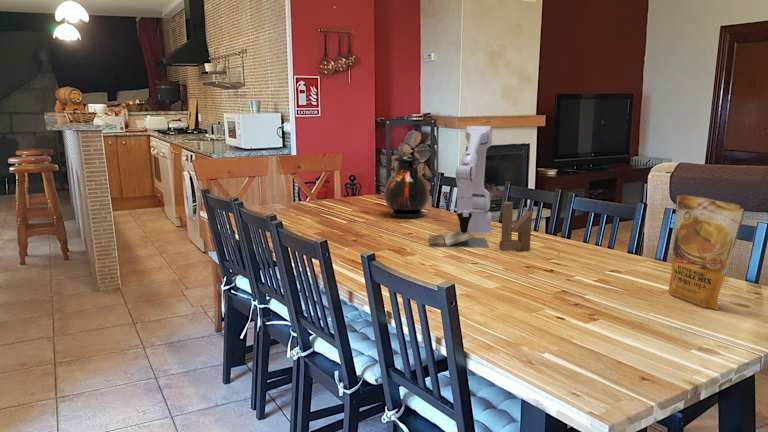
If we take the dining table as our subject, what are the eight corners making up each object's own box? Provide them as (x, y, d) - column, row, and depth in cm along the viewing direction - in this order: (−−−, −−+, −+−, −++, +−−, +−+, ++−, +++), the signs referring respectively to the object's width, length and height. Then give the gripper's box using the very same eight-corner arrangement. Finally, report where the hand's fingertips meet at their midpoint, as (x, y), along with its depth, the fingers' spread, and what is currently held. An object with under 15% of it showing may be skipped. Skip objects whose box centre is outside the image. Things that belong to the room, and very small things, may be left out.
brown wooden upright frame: (530, 250, 211) (532, 202, 207) (503, 252, 208) (505, 203, 205) (525, 248, 214) (527, 200, 211) (498, 250, 212) (500, 201, 208)
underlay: (484, 239, 229) (484, 237, 228) (489, 249, 213) (489, 247, 213) (429, 238, 230) (429, 237, 230) (429, 248, 214) (429, 246, 214)
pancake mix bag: (676, 288, 167) (685, 193, 162) (734, 310, 149) (747, 203, 144) (657, 291, 165) (666, 194, 159) (715, 313, 147) (727, 205, 142)
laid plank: (444, 237, 228) (444, 235, 228) (446, 246, 215) (446, 243, 214) (429, 237, 229) (429, 234, 229) (429, 246, 215) (429, 243, 215)
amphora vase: (377, 213, 283) (376, 156, 277) (415, 210, 292) (416, 155, 286) (396, 221, 263) (396, 160, 258) (437, 217, 272) (438, 158, 267)
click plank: (468, 230, 227) (467, 227, 227) (471, 238, 213) (470, 234, 213) (445, 237, 228) (444, 234, 228) (446, 246, 215) (445, 243, 214)
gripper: (452, 194, 225) (452, 228, 228) (455, 199, 211) (454, 236, 213) (471, 194, 225) (470, 228, 227) (474, 199, 210) (473, 236, 213)
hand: (463, 232), depth 220 cm, fingers closed, pressing on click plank
